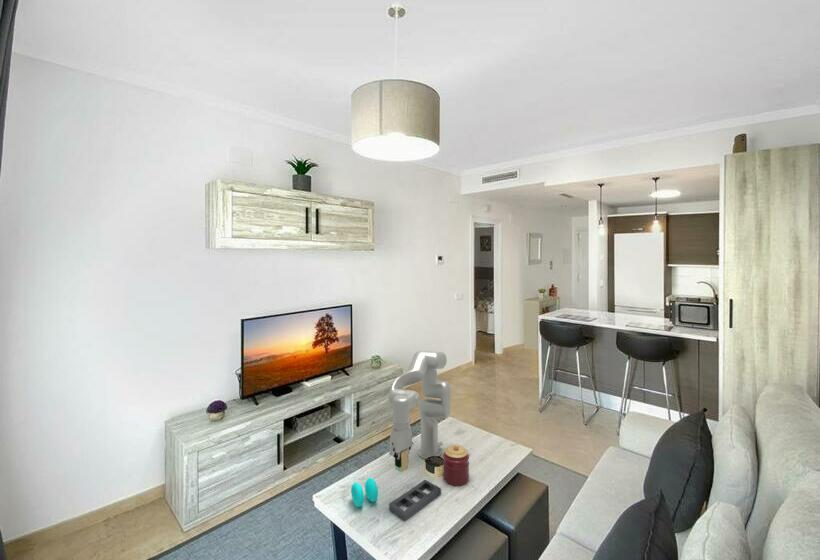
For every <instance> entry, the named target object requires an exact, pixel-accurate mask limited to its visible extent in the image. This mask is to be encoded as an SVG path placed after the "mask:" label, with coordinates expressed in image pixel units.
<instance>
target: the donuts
mask: <svg viewBox="0 0 820 560" xmlns="http://www.w3.org/2000/svg"><path fill="white" fill-rule="evenodd" d="M377 485H378V484H377V483H376V481H375V479H374V478H373V477H367V479H366V480H365V484H364V489H363V487H362V485H361V484H360V483H359V482H356V481H355V482H353V483H352V485H351V492H350V493H351V498H352V501H353V504H354V506H356V507H357V508H361V507H362V506H363V505H364V504H365V495H366V497H367V499H368V501H370V502H372V503H374V502H376V501H378V498H379V490H378V486H377ZM364 492H365V493H364Z"/></svg>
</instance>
